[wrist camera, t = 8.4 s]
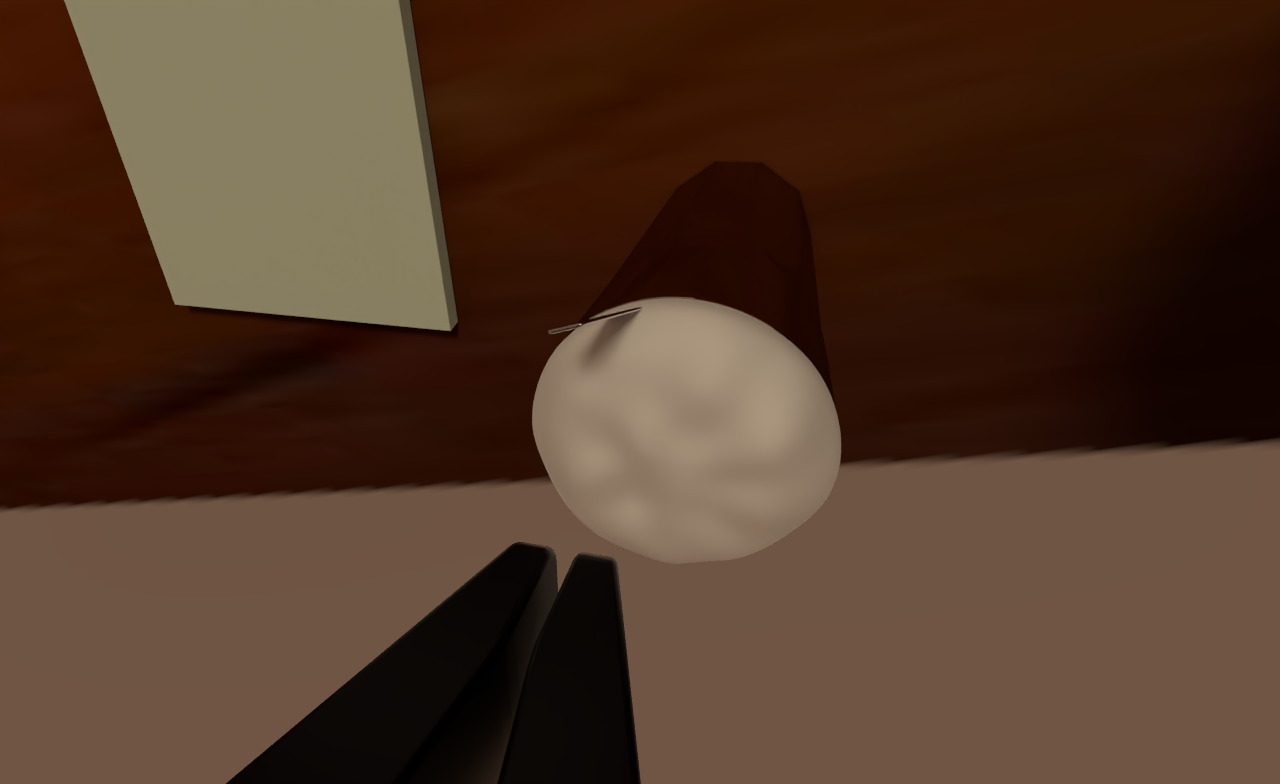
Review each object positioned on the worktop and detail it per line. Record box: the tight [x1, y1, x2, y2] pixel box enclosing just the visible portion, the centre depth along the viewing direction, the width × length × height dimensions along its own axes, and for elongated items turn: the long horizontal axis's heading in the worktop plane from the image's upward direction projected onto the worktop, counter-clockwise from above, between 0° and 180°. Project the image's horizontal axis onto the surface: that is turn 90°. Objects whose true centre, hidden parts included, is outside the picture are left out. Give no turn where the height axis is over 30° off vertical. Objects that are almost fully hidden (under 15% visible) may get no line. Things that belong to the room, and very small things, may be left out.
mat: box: [64, 0, 458, 331], centre depth 20 cm, size 8×8×1 cm
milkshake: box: [532, 162, 841, 564], centre depth 14 cm, size 4×5×10 cm
